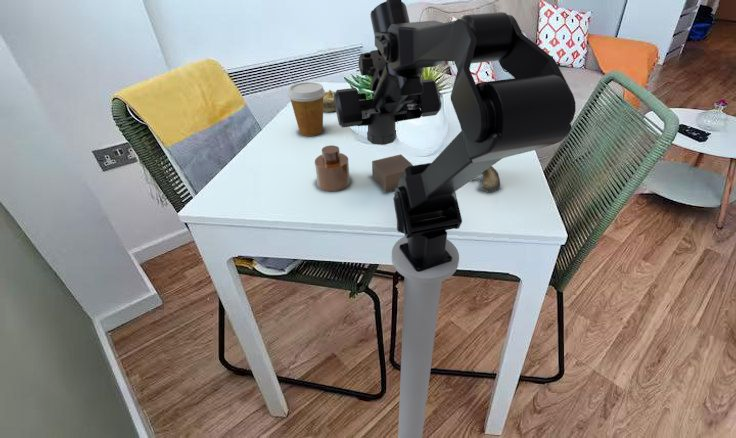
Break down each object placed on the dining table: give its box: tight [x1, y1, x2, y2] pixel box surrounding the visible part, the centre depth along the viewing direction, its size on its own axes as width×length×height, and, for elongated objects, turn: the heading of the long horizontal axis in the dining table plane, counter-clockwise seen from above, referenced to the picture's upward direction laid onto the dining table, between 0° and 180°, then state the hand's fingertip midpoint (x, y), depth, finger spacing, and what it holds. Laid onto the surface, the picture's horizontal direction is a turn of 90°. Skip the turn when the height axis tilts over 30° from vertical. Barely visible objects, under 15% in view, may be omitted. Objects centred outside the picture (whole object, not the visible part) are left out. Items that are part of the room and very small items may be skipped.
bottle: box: [314, 144, 351, 192], centre depth 79 cm, size 7×7×8 cm
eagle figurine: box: [471, 165, 501, 194], centre depth 79 cm, size 8×7×9 cm
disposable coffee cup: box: [287, 81, 326, 137], centre depth 100 cm, size 10×10×12 cm
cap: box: [366, 108, 397, 146], centre depth 74 cm, size 5×5×8 cm
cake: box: [323, 89, 336, 113], centre depth 116 cm, size 10×10×5 cm
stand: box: [371, 154, 414, 193], centre depth 80 cm, size 7×7×4 cm
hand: (379, 121), depth 75 cm, fingers closed on cap, 5 cm apart
